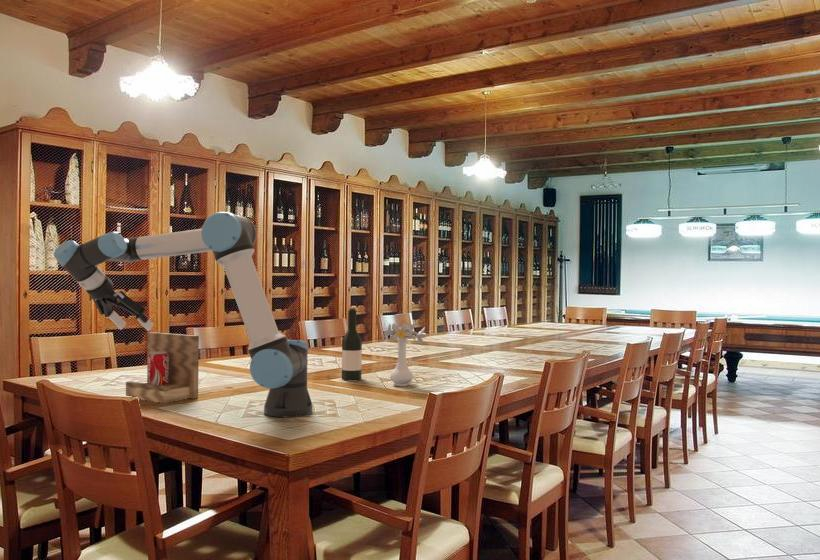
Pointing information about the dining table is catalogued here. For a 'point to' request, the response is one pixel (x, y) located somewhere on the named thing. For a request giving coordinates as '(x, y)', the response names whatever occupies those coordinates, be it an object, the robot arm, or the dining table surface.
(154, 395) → the cleat board
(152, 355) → the soda can
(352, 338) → the wine bottle
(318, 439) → the dining table surface
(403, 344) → the flower vase
